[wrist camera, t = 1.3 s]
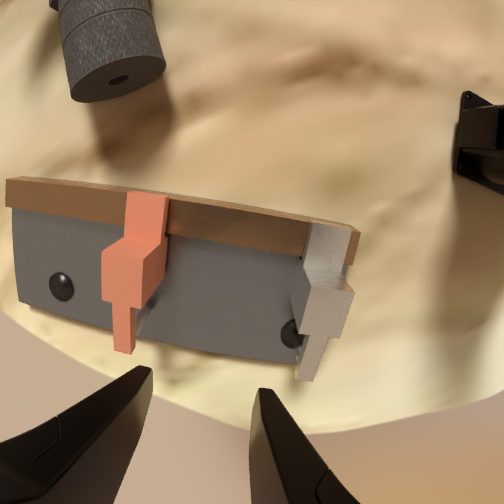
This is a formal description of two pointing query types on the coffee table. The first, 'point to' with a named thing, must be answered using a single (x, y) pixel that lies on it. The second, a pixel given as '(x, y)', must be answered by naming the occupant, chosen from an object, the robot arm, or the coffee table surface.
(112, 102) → the coffee table surface
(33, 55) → the coffee table surface
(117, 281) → the block
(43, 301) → the plate
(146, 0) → the laser sight
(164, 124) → the coffee table surface
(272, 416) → the robot arm
